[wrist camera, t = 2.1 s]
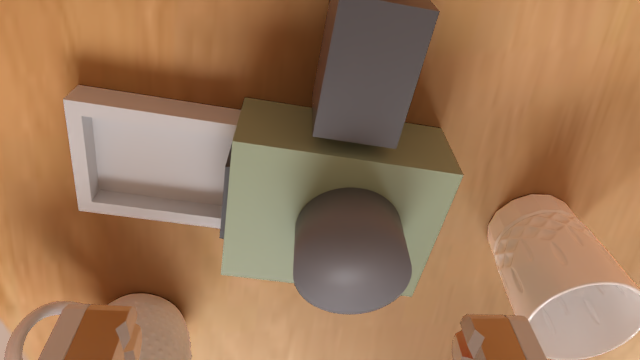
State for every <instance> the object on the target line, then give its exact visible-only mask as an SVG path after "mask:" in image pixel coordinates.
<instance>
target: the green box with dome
mask: <svg viewBox="0 0 640 360" xmlns="http://www.w3.org/2000/svg"><path fill="white" fill-rule="evenodd" d="M63 103H64V110H65V117H66V124H67V131H68V138H69V145H70V152H71V160H72V167H73V174H74V181H75V188H76V195H77V202H78V209H79V211H85V212H92V213H100V214H108V215H116V216H124V217H132V218H140V219H148V220H156V221H164V222H172V223H180V224H187V225H195V226H203V227H211V228H219V229H220V238H221V239H224V245H223V257H222V268H221V275H227V276H236V277H244V278H253V279H262V280H270V281H279V282H288V283H294V284H295V286H296V288H297V290H298V292H299V293H300V295H301V296H302V297H303V298H304V299H305V300H306V301H308V302H309V303H310V304H312V305H314V306H315V307H318V308H320V309H322V310H325V311H328V312H332V313H338V314H361V313H367V312H371V311H374V310H377V309H380V308H382V307H384V306H386V305H388V304H390V303H391V302H393V301H394V300H396V299H397V298H398V297H399V296H409V297H412V295H413V293H414V291H415V288H416V286H417V283H418V281H419V279H420V276H421V274H422V272H423V269H424V267H425V265H426V262H427V260H428V258H429V255H430V253H431V251H432V248H433V246H434V243H435V241H436V239H437V236H438V234H439V232H440V229H441V227H442V225H443V222H444V220H445V218H446V215H447V213H448V211H449V208H450V206H451V203H452V201H453V199H454V196H455V194H456V192H457V189H458V187H459V185H460V182H461V180H462V178H463V173H462V171H461V169H460V167H459V164H458V162H457V160H456V158H455V156H454V154H453V152H452V150H451V148H450V146H449V143H448V141H447V139H446V137H445V135H444V133H443V131H442V129H441V128H437V127H431V126H424V125H418V124H412V123H404V126H403V129H402V132H401V135H400V139H399V142H398V145H397V148H396V149H392V148H386V147H379V146H372V145H366V144H359V143H353V142H346V141H339V140H333V139H326V138H319V137H313V136H312V108H310V107H304V106H298V105H291V104H285V103H279V102H272V101H266V100H260V99H253V98H247V97H245V98H244V102H243V105H242V109H241V110H239V109H232V108H226V107H219V106H213V105H206V104H200V103H193V102H187V101H180V100H174V99H168V98H161V97H155V96H148V95H142V94H135V93H129V92H122V91H116V90H109V89H103V88H96V87H90V86H84V85H77V86H76V87H75V88H74V89H73V90H72V91H71V92H70V93H69V94H68V95H67V96H66V97H65V98H64V99H63Z"/></svg>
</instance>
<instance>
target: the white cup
mask: <svg viewBox="0 0 640 360" xmlns="http://www.w3.org/2000/svg"><path fill="white" fill-rule="evenodd" d="M487 239H488V242H489V245H490V247H491V250H492V252H493V255H494V257H495V261H496V265H497V269H498V272H499V274H500V277H501V279H502V283H503V286H504V289H505V291H506V294H507V297H508V299H509V302H510V304H511V307H512V310H513V312H514V315H515V316H525V317H526V318H527V319H528V321H529V323H530V325H531V327H532V329H533V331H534V333H535V335H536V337H537V339H538V341H539V344H540V346H541V348H542V350H543V352H544V354H545V356H546V358H548V359H553V360H581V359H586V358H591V357H595V356H598V355H601V354H604V353H607V352H609V351H611V350H613V349H615V348H617V347H619V346H621V345H623V344H624V343H626V342H627V341H629V340H630V339H631V338H632V337H634V336H635V335H636V334H637V333H638V332H639V331H640V289H639V287H638V286H637V285H636V284H635V283H634V281H633V280H632V279H631V278H630V277H629V276H628V274H627V273H626V272H625V271H624V270H623V268H622V267H621V266H620V265H619V264H618V262H617V261H616V260H615V259H614V258H613V256H612V255H611V254H610V253H609V252H608V250H607V249H606V248H605V247H604V246H603V244H602V243H601V242H600V241H599V240H598V239H597V238H596V237H595V236H594V234H593V233H592V232H591V231H590V230H589V229H588V228H587V227H586V226H585V225H584V224H583V223H582V222H581V221H580V220H579V219H578V218H577V217H576V215H575V214H574V213H573V212H572V210H571V209H570V208H569V207H568V206H567V204H566V203H565V202H563V201H561V200H559V199H557V198H555V197H554V196H552V195H544V194H530V195H527V196H524V197H520V198H517V199H514V200H512V201H510V202H509V203H507V204H506V205H505V206H503V207H502V208H501V209H499V210H498V211H497V212H496V213H495V215H494V216H493V218H492V220H491V221H490V223H489V224H488V237H487Z"/></svg>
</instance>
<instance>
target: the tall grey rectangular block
mask: <svg viewBox="0 0 640 360" xmlns="http://www.w3.org/2000/svg"><path fill="white" fill-rule="evenodd" d="M439 12H440V11H439V10H438V9H437V8H436V7H435V5H434V4H433V3H432V2H431V1H430V0H330V1H329V7H328V12H327V17H326V23H325V28H324V34H323V39H322V45H321V50H320V55H319V61H318V66H317V72H316V77H315V83H314V88H313V93H312V136H313V137H319V138H326V139H333V140H339V141H346V142H353V143H359V144H366V145H372V146H379V147H386V148H392V149H396V148H397V145H398V142H399V139H400V135H401V132H402V129H403V126H404V123H405V120H406V116H407V113H408V110H409V107H410V104H411V101H412V97H413V94H414V91H415V88H416V85H417V81H418V78H419V75H420V72H421V69H422V66H423V62H424V59H425V56H426V53H427V50H428V47H429V43H430V40H431V37H432V34H433V31H434V28H435V24H436V21H437V18H438V15H439Z"/></svg>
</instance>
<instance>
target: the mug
mask: <svg viewBox="0 0 640 360" xmlns="http://www.w3.org/2000/svg"><path fill="white" fill-rule="evenodd" d="M68 304H82V303H77V302H71V301H56V302H52V303H48V304H45V305H43V306H40V307H39V308H37V309H35V310H34V311H32V312H31V313H29V314H28V315H27V316H26V317H25V318H24V319H23V320H22V321H21V322H20V323H19V325H18V326H17V327H16V328H15V330H14V331H13V333H12V335H11V337H10V339H9V341H8V344H7V347H6V351H5V357H4V360H23V358H22V350H23V345H24V341H25V338H26V336H27V334H28V332H29V331H30V329H31V328H32V327H33V326H34V325H35V324H36V323H37V322H38V321H40V320H41V319H43V318H45V317H48V316H53V315H60V314H61V312H62V310H63V309H64V308H65V307H66V306H67V305H68ZM108 305H115V306H136V310H137V313H138V317H137V320H136V324H138V325H139V326H140V327H141V331H142V346H141V353H140V357H139V360H191V358H192V355H191V342H190V337H189V331H188V328H187V325H186V322H185V320H184V318H183V316H182V314H181V312H180V311H179V310H178V309H177V307H176V306H175V305H173V304H172V303H171V302H169V301H167V300H166V299H164V298H161V297H159V296H156V295H152V294H146V293H136V294H129V295H125V296H123V297H120V298H118V299H116V300H114V301H113V302H111V303H109V304H108Z"/></svg>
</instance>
